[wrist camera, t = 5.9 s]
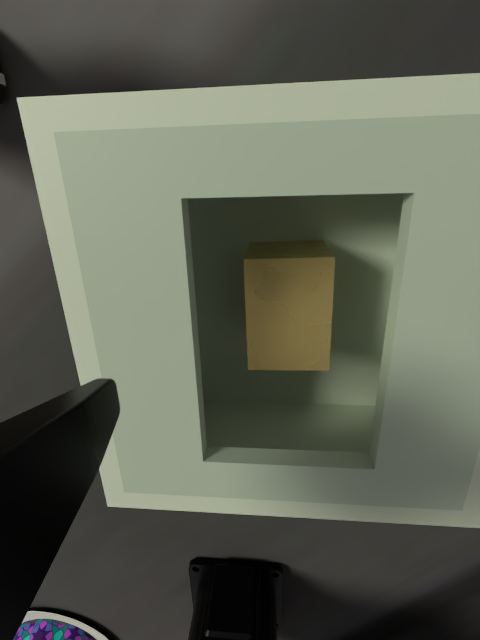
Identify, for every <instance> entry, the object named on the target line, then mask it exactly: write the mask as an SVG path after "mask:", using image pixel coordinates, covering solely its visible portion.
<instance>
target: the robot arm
mask: <svg viewBox="0 0 480 640" xmlns="http://www.w3.org/2000/svg"><path fill="white" fill-rule="evenodd" d="M119 414H120V403H119V397H118V392H117V386H116V383H115V381H114V380H113V379H110V378H98V379H95V380H93V381H90V382H88V383H86V384H84V385H82V386H80V387H77V388H75V389H73V390H71V391H69V392H66V393H64V394H62V395H60V396H58V397H56V398H53V399H51V400H49V401H47V402H45V403H43V404H40V405H38V406H36V407H34V408H32V409H29V410H27V411H25V412H23V413H21V414H19V415H16V416H14V417H12V418H10V419H8V420H6V421H3V422H1V423H0V640H14V638H15V636H16V634H17V632H18V630H19V628H20V626H21V624H22V622H23V620H24V618H25V616H26V614H27V612H28V610H29V608H30V606H31V604H32V602H33V600H34V598H35V596H36V594H37V592H38V590H39V588H40V586H41V584H42V582H43V580H44V578H45V576H46V574H47V572H48V570H49V568H50V566H51V564H52V562H53V560H54V558H55V556H56V554H57V552H58V550H59V548H60V546H61V544H62V542H63V540H64V538H65V536H66V534H67V532H68V530H69V528H70V526H71V524H72V522H73V520H74V518H75V516H76V514H77V512H78V510H79V508H80V506H81V504H82V502H83V500H84V498H85V496H86V494H87V492H88V490H89V488H90V486H91V485H92V483H93V481H94V479H95V476H96V474H97V472H98V470H99V468H100V465H101V463H102V461H103V458H104V455H105V453H106V450H107V447H108V445H109V442H110V439H111V436H112V434H113V431H114V428H115V426H116V423H117V420H118V418H119ZM189 576H190V584H191V592H192V601H193V609H194V611H193V616H192V622H191V627H190V632H189V638H188V640H277V629H278V628H280V627H281V626H282V589H283V569H282V567H281V566H279V565H276V564H264V563H249V562H235V561H221V560H207V559H192V560H191V561H190V565H189Z"/></svg>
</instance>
